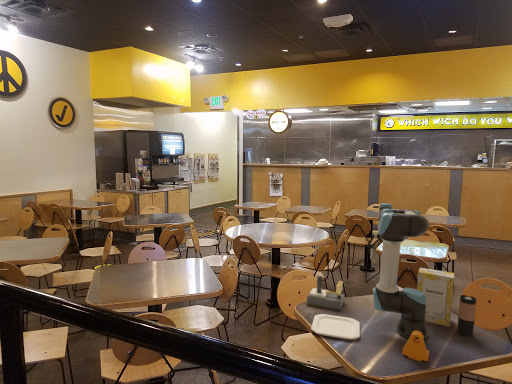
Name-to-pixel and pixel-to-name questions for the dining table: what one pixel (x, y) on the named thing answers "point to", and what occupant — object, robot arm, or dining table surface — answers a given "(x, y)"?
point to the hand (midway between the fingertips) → (381, 259)
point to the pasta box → (437, 294)
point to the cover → (318, 289)
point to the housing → (327, 301)
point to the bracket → (416, 347)
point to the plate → (336, 326)
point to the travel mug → (466, 315)
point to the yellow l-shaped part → (337, 289)
